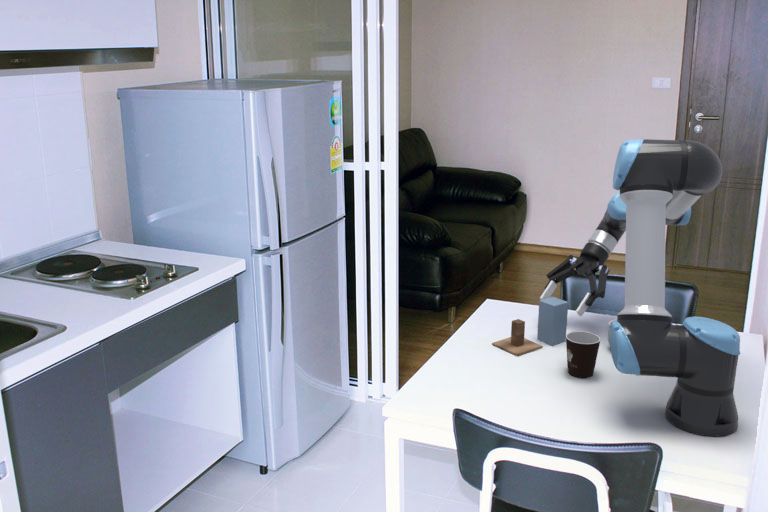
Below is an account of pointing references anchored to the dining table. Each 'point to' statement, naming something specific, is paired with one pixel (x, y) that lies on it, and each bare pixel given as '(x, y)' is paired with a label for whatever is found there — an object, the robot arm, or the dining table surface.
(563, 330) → the pale blue tall brick
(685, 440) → the dining table surface
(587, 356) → the coffee mug
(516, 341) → the square wooden base plate
